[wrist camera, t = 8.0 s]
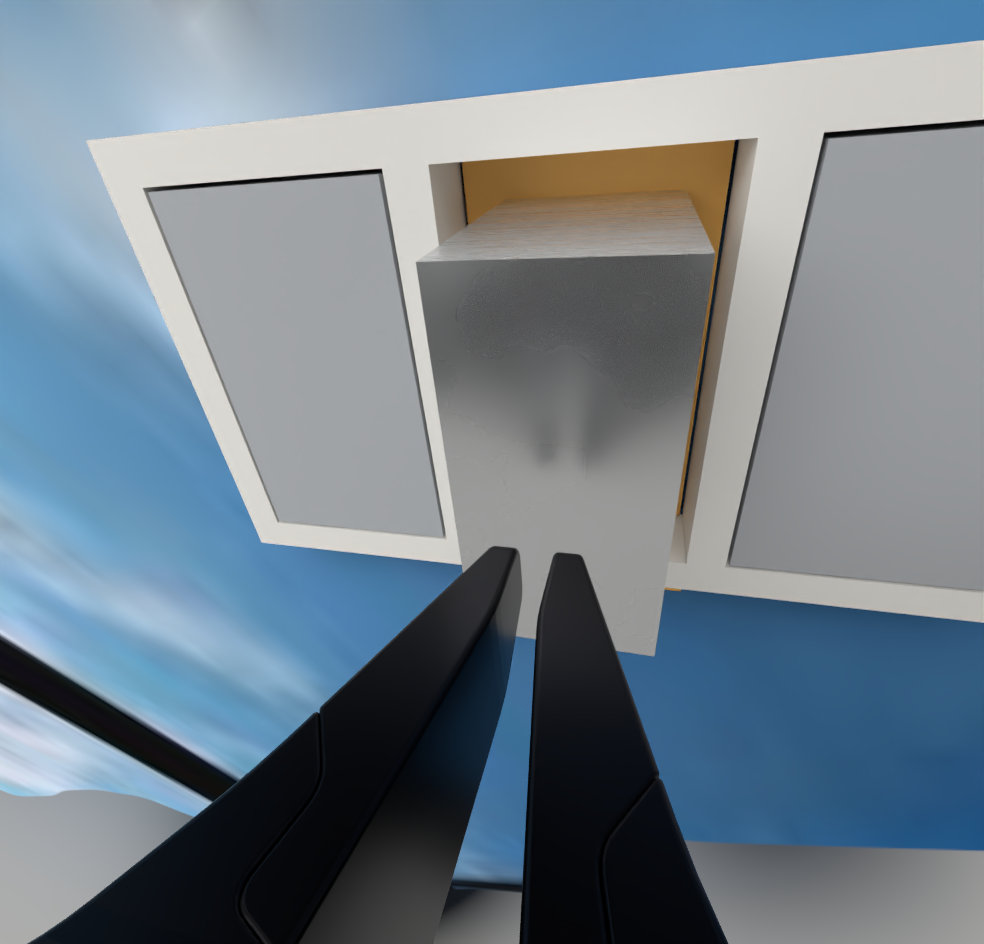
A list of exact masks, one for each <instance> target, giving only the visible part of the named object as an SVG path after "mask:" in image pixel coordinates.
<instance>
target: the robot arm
mask: <svg viewBox="0 0 984 944" xmlns="http://www.w3.org/2000/svg"><path fill="white" fill-rule="evenodd" d="M521 601H522V574H521V560H520V553H519V551H518V550H517V549H516V548H513V547H502V546H492V547H490V548H489V549H488V550H487V551H486V552H485V553H484V554H483V555H481V556H480V557H479V558H478V559H477V560H476V561H475V562H474V563H473V564H472V565H471V566H470V567H469V568H468V569H467V570H466V571H464V572H463V573H462V574H461V575H460V576H459V577H458V578H457V579H456V580H455V581H454V582H453V583H452V584H451V585H450V586H449V587H447V588H446V589H445V590H444V591H443V592H442V593H441V594H440V595H439V596H438V597H437V598H436V599H435V600H434V601H433V602H432V603H431V604H429V605H428V606H427V607H426V608H425V609H424V610H423V611H422V612H421V613H420V614H419V615H418V616H417V617H416V618H415V619H414V620H412V621H411V622H410V623H409V624H408V625H407V626H406V627H405V628H404V629H403V630H402V631H401V632H400V633H399V634H398V635H397V636H396V637H394V638H393V639H392V640H391V641H390V642H389V643H388V644H387V645H386V646H385V647H384V648H383V649H382V650H381V651H380V652H379V653H377V654H376V655H375V656H374V657H373V658H372V659H371V660H370V661H369V662H368V663H367V664H366V665H365V666H364V667H363V668H362V669H360V670H359V671H358V672H357V673H356V674H355V675H354V676H353V677H352V678H351V679H350V680H349V681H348V682H347V683H346V684H345V685H344V686H342V687H341V688H340V689H339V690H338V691H337V692H336V693H335V694H334V695H333V696H332V697H331V698H330V699H329V700H328V701H327V702H325V703H324V704H323V705H322V706H321V707H320V714H319V713H318V712H315V713H313V714H312V715H311V716H310V717H309V718H308V719H307V720H306V721H305V722H304V723H303V724H302V725H301V726H300V727H299V728H298V729H296V730H295V731H294V732H293V733H292V734H291V735H290V736H289V737H288V738H287V739H286V740H285V741H283V742H282V743H281V744H280V745H279V746H278V747H277V748H276V749H275V750H273V751H272V752H271V753H270V754H269V755H268V756H267V757H266V758H265V759H263V760H262V761H261V762H260V763H259V764H258V765H257V766H256V767H255V768H253V769H252V770H251V771H250V772H249V773H248V774H246V775H245V776H244V777H243V778H241V779H240V780H239V781H238V782H237V783H235V784H234V785H233V786H232V787H231V788H229V789H228V790H227V791H226V792H225V793H223V794H222V795H221V796H220V797H219V798H217V799H216V800H215V801H214V802H213V803H211V804H210V805H209V806H208V807H207V808H205V809H204V810H203V811H201V812H200V813H199V814H198V815H196V816H195V817H194V818H193V819H191V820H190V821H189V822H188V823H186V824H185V825H184V826H183V827H181V828H180V829H179V830H178V831H176V832H175V833H174V834H173V835H171V836H170V837H169V838H168V839H166V840H165V841H164V842H163V843H161V844H160V845H159V846H158V847H156V848H155V849H154V850H153V851H152V852H150V853H149V854H148V855H146V856H145V857H144V858H143V859H141V860H140V861H139V862H138V863H136V864H135V865H134V866H133V867H131V868H130V869H129V870H128V871H126V872H125V873H124V874H123V875H122V876H120V877H119V878H118V879H116V880H115V881H114V882H112V883H111V884H110V885H109V886H107V887H106V888H105V889H104V890H102V891H101V892H100V893H99V894H97V895H96V896H95V897H94V898H92V899H91V900H90V901H89V902H87V903H86V904H85V905H83V906H82V907H81V908H79V909H78V910H77V911H75V912H74V913H73V914H71V915H70V916H69V917H67V918H66V919H64V920H63V921H62V922H60V923H59V924H57V925H56V926H54V927H53V928H51V929H50V930H48V931H47V932H45V933H44V934H43V935H41V936H39V937H37V938H36V939H34V940H33V941H31V942H29V943H28V944H433V942H434V938H435V935H436V931H437V928H438V924H439V921H440V918H441V914H442V911H443V907H444V904H445V900H446V897H447V894H448V890H449V887H450V884H451V880H452V877H453V873H454V870H455V867H456V863H457V860H458V856H459V853H460V850H461V846H462V843H463V839H464V836H465V833H466V829H467V826H468V822H469V819H470V816H471V812H472V809H473V805H474V802H475V799H476V795H477V792H478V788H479V785H480V782H481V778H482V775H483V771H484V768H485V765H486V761H487V758H488V754H489V751H490V748H491V744H492V741H493V737H494V734H495V731H496V727H497V724H498V720H499V717H500V714H501V710H502V706H503V702H504V698H505V694H506V689H507V684H508V679H509V673H510V667H511V661H512V655H513V649H514V643H515V637H516V631H517V625H518V619H519V614H520V608H521ZM519 944H728V942H727V940H726V937H725V935H724V933H723V931H722V929H721V926H720V924H719V922H718V919H717V918H716V915H715V913H714V910H713V908H712V906H711V904H710V901H709V900H708V897H707V895H706V892H705V890H704V888H703V886H702V883H701V881H700V879H699V877H698V874H697V872H696V869H695V867H694V864H693V861H692V859H691V856H690V854H689V851H688V848H687V846H686V844H685V841H684V838H683V836H682V833H681V830H680V828H679V825H678V823H677V820H676V817H675V815H674V812H673V809H672V806H671V803H670V801H669V798H668V795H667V792H666V789H665V787H664V784H663V781H662V780H661V779H659V771H658V768H657V765H656V762H655V759H654V757H653V754H652V751H651V748H650V745H649V742H648V740H647V737H646V734H645V731H644V728H643V725H642V723H641V720H640V717H639V714H638V711H637V708H636V706H635V703H634V700H633V697H632V694H631V691H630V689H629V686H628V683H627V680H626V677H625V674H624V672H623V669H622V666H621V663H620V660H619V658H618V655H617V652H616V649H615V646H614V643H613V641H612V638H611V635H610V632H609V629H608V626H607V624H606V621H605V618H604V615H603V612H602V609H601V607H600V604H599V601H598V598H597V595H596V592H595V590H594V587H593V584H592V581H591V578H590V575H589V573H588V570H587V567H586V564H585V561H584V559H583V557H582V556H581V555H580V554H573V553H563V552H557V553H555V554H554V555H553V558H552V562H551V566H550V569H549V573H548V577H547V581H546V585H545V589H544V592H543V596H542V600H541V604H540V608H539V613H538V618H537V627H536V644H535V663H534V681H533V700H532V718H531V737H530V755H529V774H528V793H527V811H526V830H525V848H524V867H523V886H522V904H521V923H520V943H519Z"/></svg>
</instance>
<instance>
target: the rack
mask: <svg viewBox="0 0 984 944" xmlns="http://www.w3.org/2000/svg"><path fill="white" fill-rule="evenodd" d="M737 139H739V143H738V149H737V156H736V162H735V169H734V176H733V182H732V189H731V195H730V202H729V209H728V215H727V222H726V228H725V235H724V242H723V248H722V255H721V261H720V268H719V274H718V281H717V288H716V294H715V301H714V307H713V314H712V321H711V327H710V334H709V340H708V347H707V353H706V360H705V367H704V373H703V380H702V386H701V393H700V400H699V406H698V413H697V419H696V426H695V433H694V439H693V446H692V452H691V459H690V465H689V472H688V479H687V485H686V492H685V498H684V505H683V512H682V514H680V508H681V501H682V495H683V488H684V481H685V474H686V468H687V461H688V454H689V447H690V441H691V434H692V427H693V420H694V414H695V407H696V400H697V393H698V387H699V380H700V373H701V367H702V360H703V353H704V346H705V340H706V333H707V326H708V319H709V313H710V306H711V299H712V292H713V286H714V279H715V272H716V265H717V259H718V252H719V245H720V239H721V232H722V225H723V218H724V212H725V205H726V198H727V191H728V185H729V178H730V171H731V164H732V158H733V151H734V144H735V140H737ZM86 142H87V144H88V147H89V149H90V151H91V153H92V156H93V158H94V160H95V163H96V165H97V167H98V169H99V172H100V174H101V176H102V179H103V181H104V183H105V185H106V188H107V190H108V192H109V195H110V197H111V199H112V201H113V204H114V206H115V208H116V211H117V213H118V215H119V217H120V220H121V222H122V224H123V227H124V229H125V231H126V233H127V236H128V238H129V240H130V242H131V245H132V247H133V249H134V252H135V254H136V256H137V258H138V261H139V263H140V265H141V268H142V270H143V272H144V274H145V277H146V279H147V281H148V284H149V286H150V288H151V290H152V293H153V295H154V297H155V300H156V302H157V304H158V306H159V309H160V311H161V313H162V316H163V318H164V320H165V322H166V325H167V327H168V329H169V332H170V334H171V336H172V338H173V341H174V343H175V345H176V348H177V350H178V352H179V354H180V357H181V359H182V361H183V364H184V366H185V368H186V370H187V373H188V375H189V377H190V380H191V382H192V384H193V386H194V389H195V391H196V393H197V396H198V398H199V400H200V402H201V405H202V407H203V409H204V412H205V414H206V416H207V418H208V421H209V423H210V425H211V428H212V430H213V432H214V434H215V437H216V439H217V441H218V444H219V446H220V448H221V450H222V453H223V455H224V457H225V460H226V462H227V464H228V466H229V469H230V471H231V473H232V476H233V478H234V480H235V482H236V485H237V487H238V489H239V492H240V494H241V496H242V498H243V501H244V503H245V505H246V508H247V510H248V512H249V514H250V517H251V519H252V521H253V524H254V526H255V528H256V530H257V533H258V535H259V537H260V540H261V542H262V543H271V544H280V545H289V546H298V547H307V548H316V549H325V550H334V551H343V552H352V553H361V554H370V555H379V556H388V557H397V558H406V559H415V560H424V561H433V562H442V563H451V564H460V565H462V563H461V557H460V550H459V544H458V537H457V530H456V524H455V517H454V511H453V504H452V498H451V491H450V484H449V478H448V471H447V465H446V458H445V452H444V445H443V438H442V432H441V425H440V419H439V412H438V406H437V399H436V392H435V386H434V379H433V373H432V366H431V360H430V353H429V346H428V340H427V333H426V327H425V320H424V314H423V307H422V300H421V294H420V287H419V281H418V274H417V268H416V261H418V260H419V259H420V258H422V257H423V256H425V255H426V254H428V253H429V252H430V251H432V250H433V249H435V248H436V247H438V246H439V245H441V244H442V243H443V242H445V241H446V240H448V239H449V238H451V237H452V236H453V235H455V234H456V233H458V232H459V231H461V230H462V229H463V228H465V227H466V226H467V223H466V213H465V204H464V194H463V184H462V174H461V164H460V162H462V168H463V178H464V188H465V198H466V208H467V218H468V225H469V224H471V223H472V222H474V221H475V220H476V219H478V218H479V217H481V216H482V215H484V214H485V213H486V212H488V211H489V210H491V209H492V208H494V207H495V206H497V205H498V204H499V203H501V202H502V201H504V200H505V199H522V198H540V197H558V196H576V195H594V194H612V193H630V192H648V191H666V190H683V189H686V190H687V192H688V194H689V197H690V199H691V201H692V203H693V205H694V208H695V210H696V212H697V214H698V216H699V219H700V221H701V223H702V225H703V227H704V230H705V232H706V234H707V236H708V238H709V241H710V243H711V245H712V247H713V249H714V252H715V259H714V266H713V272H712V279H711V285H710V292H709V299H708V305H707V312H706V318H705V325H704V332H703V338H702V345H701V352H700V358H699V365H698V371H697V378H696V385H695V391H694V398H693V405H692V411H691V418H690V424H689V431H688V438H687V444H686V451H685V457H684V464H683V471H682V477H681V484H680V491H679V497H678V504H677V510H676V517H675V524H674V530H673V537H672V544H671V550H670V557H669V563H668V570H667V577H666V583H665V590H673V591H681V589H685V590H694V591H703V592H712V593H721V594H730V595H739V596H748V597H757V598H766V599H775V600H784V601H793V602H802V603H811V604H820V605H829V606H838V607H847V608H856V609H865V610H874V611H883V612H892V613H901V614H910V615H919V616H928V617H937V618H946V619H955V620H964V621H973V622H982V623H984V40H982V41H973V42H964V43H955V44H946V45H937V46H928V47H919V48H910V49H901V50H892V51H883V52H874V53H865V54H856V55H847V56H839V57H830V58H821V59H812V60H803V61H794V62H785V63H776V64H767V65H758V66H749V67H740V68H731V69H722V70H713V71H704V72H695V73H686V74H677V75H668V76H659V77H650V78H641V79H632V80H623V81H614V82H605V83H597V84H588V85H579V86H570V87H561V88H552V89H543V90H534V91H525V92H516V93H507V94H498V95H489V96H480V97H471V98H462V99H453V100H444V101H435V102H426V103H417V104H408V105H399V106H390V107H381V108H372V109H363V110H354V111H346V112H337V113H328V114H319V115H310V116H301V117H292V118H283V119H274V120H265V121H256V122H247V123H238V124H229V125H220V126H211V127H202V128H193V129H184V130H175V131H166V132H157V133H148V134H139V135H130V136H121V137H112V138H104V139H95V140H86Z"/></svg>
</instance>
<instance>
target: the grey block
mask: <svg viewBox="0 0 984 944" xmlns="http://www.w3.org/2000/svg"><path fill="white" fill-rule="evenodd" d="M714 259H715V252H714V249H713V247H712V245H711V243H710V241H709V238H708V236H707V234H706V232H705V230H704V227H703V225H702V223H701V221H700V219H699V216H698V214H697V212H696V210H695V208H694V205H693V203H692V201H691V199H690V197H689V194H688V192H687V190H686V189H683V190H666V191H648V192H630V193H612V194H594V195H576V196H558V197H540V198H522V199H505V200H504V201H502V202H501V203H499V204H498V205H497V206H495V207H494V208H492V209H491V210H489V211H488V212H486V213H485V214H484V215H482V216H481V217H479V218H478V219H476V220H475V221H474V222H472V223H471V224H469V225H468V226H466V227H465V228H463V229H462V230H461V231H459V232H458V233H456V234H455V235H453V236H452V237H451V238H449V239H448V240H446V241H445V242H443V243H442V244H441V245H439V246H438V247H436V248H435V249H433V250H432V251H430V252H429V253H428V254H426V255H425V256H423V257H422V258H420V259H419V260H418V261H416V268H417V274H418V281H419V287H420V294H421V300H422V307H423V314H424V320H425V327H426V333H427V340H428V346H429V353H430V360H431V366H432V373H433V379H434V386H435V392H436V399H437V406H438V412H439V419H440V425H441V432H442V438H443V445H444V452H445V458H446V465H447V471H448V478H449V484H450V491H451V498H452V504H453V511H454V517H455V524H456V530H457V537H458V544H459V550H460V557H461V563H462V570H463V572H464V571H466V570H467V569H468V568H469V567H470V566H471V565H472V564H473V563H474V562H475V561H476V560H477V559H478V558H479V557H480V556H481V555H483V554H484V553H485V552H486V551H487V550H488V549H489V548H490V547H492V546H502V547H513V548H516V549H517V550H518V551H519V553H520V560H521V574H522V601H521V608H520V614H519V619H518V625H517V631H516V636H518V637H524V638H531V639H536V627H537V618H538V613H539V608H540V604H541V600H542V596H543V592H544V589H545V585H546V581H547V577H548V573H549V569H550V566H551V562H552V558H553V555H554V554H555V553H557V552H563V553H573V554H580V555H581V556H582V557H583V559H584V561H585V564H586V567H587V570H588V573H589V575H590V578H591V581H592V584H593V587H594V590H595V592H596V595H597V598H598V601H599V604H600V607H601V609H602V612H603V615H604V618H605V621H606V624H607V626H608V629H609V632H610V635H611V638H612V641H613V643H614V646H615V649H616V651H621V652H628V653H635V654H641V655H648V656H655V649H656V643H657V636H658V630H659V623H660V616H661V610H662V603H663V596H664V590H665V583H666V577H667V570H668V563H669V557H670V550H671V544H672V537H673V530H674V524H675V517H676V510H677V504H678V497H679V491H680V484H681V477H682V471H683V464H684V457H685V451H686V444H687V438H688V431H689V424H690V418H691V411H692V405H693V398H694V391H695V385H696V378H697V371H698V365H699V358H700V352H701V345H702V338H703V332H704V325H705V318H706V312H707V305H708V299H709V292H710V285H711V279H712V272H713V266H714Z"/></svg>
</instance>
